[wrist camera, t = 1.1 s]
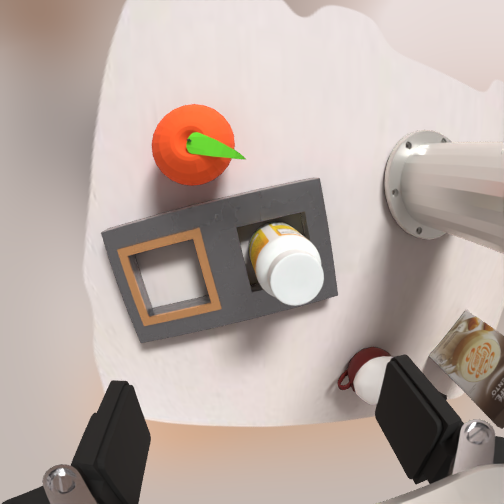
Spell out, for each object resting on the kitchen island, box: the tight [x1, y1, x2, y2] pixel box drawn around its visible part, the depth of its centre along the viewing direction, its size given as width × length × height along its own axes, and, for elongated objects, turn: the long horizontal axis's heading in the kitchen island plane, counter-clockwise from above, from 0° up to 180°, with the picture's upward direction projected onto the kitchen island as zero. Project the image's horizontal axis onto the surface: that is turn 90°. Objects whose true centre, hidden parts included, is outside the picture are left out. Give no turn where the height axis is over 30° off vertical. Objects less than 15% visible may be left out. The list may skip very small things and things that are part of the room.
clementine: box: [152, 104, 245, 186], centre depth 25 cm, size 8×7×7 cm
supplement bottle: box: [249, 222, 324, 306], centre depth 27 cm, size 5×5×10 cm
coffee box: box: [429, 310, 504, 428], centre depth 31 cm, size 9×6×16 cm
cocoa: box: [338, 347, 447, 405], centre depth 31 cm, size 10×6×12 cm, turn 84°
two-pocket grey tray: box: [101, 178, 338, 343], centre depth 30 cm, size 21×12×2 cm, turn 103°
